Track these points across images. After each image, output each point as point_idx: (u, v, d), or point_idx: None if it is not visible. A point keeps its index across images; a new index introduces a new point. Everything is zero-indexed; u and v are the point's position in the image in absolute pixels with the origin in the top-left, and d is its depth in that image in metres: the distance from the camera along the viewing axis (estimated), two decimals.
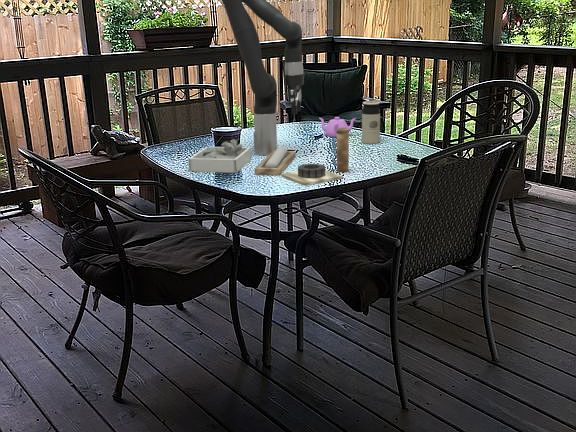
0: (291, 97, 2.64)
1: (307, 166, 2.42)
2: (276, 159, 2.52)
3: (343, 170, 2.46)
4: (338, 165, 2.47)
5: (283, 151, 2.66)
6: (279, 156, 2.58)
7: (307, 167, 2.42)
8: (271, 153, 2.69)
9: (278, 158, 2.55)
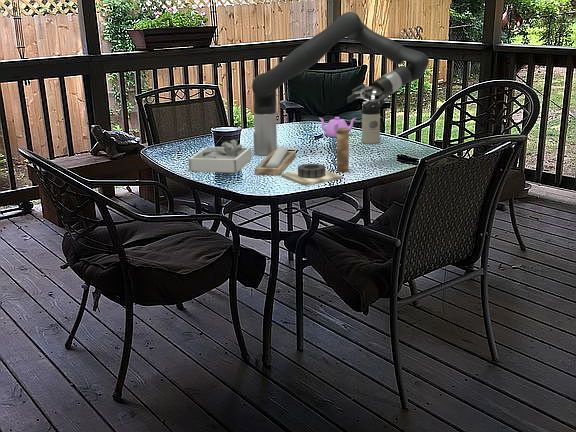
0: (382, 100, 2.44)
1: (307, 166, 2.42)
2: (277, 159, 2.52)
3: (343, 170, 2.46)
4: (338, 165, 2.47)
5: (283, 151, 2.66)
6: (279, 155, 2.58)
7: (307, 167, 2.42)
8: (271, 153, 2.69)
9: (279, 158, 2.55)
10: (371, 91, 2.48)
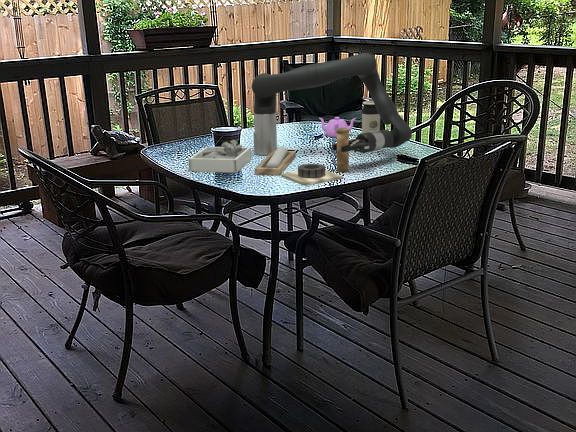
0: (362, 147, 2.44)
1: (307, 166, 2.42)
2: (277, 159, 2.53)
3: (343, 170, 2.46)
4: (338, 165, 2.47)
5: (283, 151, 2.66)
6: (279, 155, 2.58)
7: (307, 167, 2.42)
8: (271, 153, 2.69)
9: (279, 158, 2.55)
10: (355, 141, 2.50)
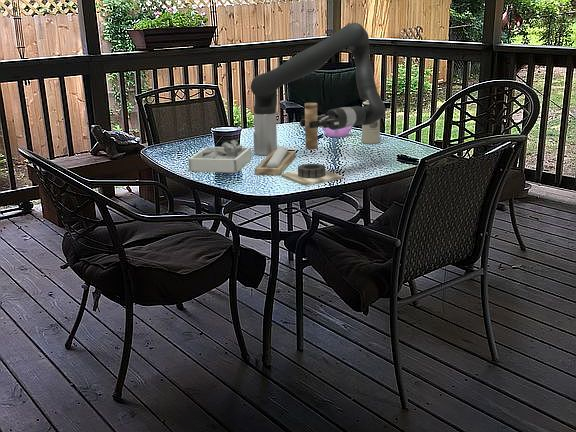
0: (331, 123, 2.32)
1: (307, 166, 2.42)
2: (277, 159, 2.53)
3: (312, 147, 2.35)
4: (306, 142, 2.35)
5: (284, 151, 2.66)
6: (280, 155, 2.58)
7: (307, 167, 2.42)
8: (271, 153, 2.69)
9: (279, 158, 2.55)
10: None
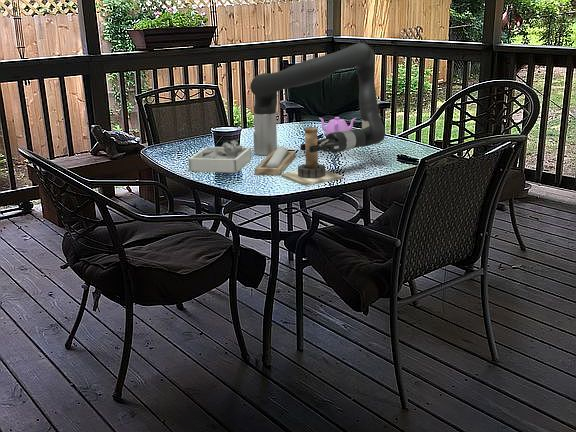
0: (331, 147, 2.35)
1: None
2: (277, 159, 2.53)
3: None
4: (307, 166, 2.38)
5: (283, 151, 2.66)
6: (279, 155, 2.58)
7: None
8: (271, 153, 2.69)
9: (279, 158, 2.55)
10: None
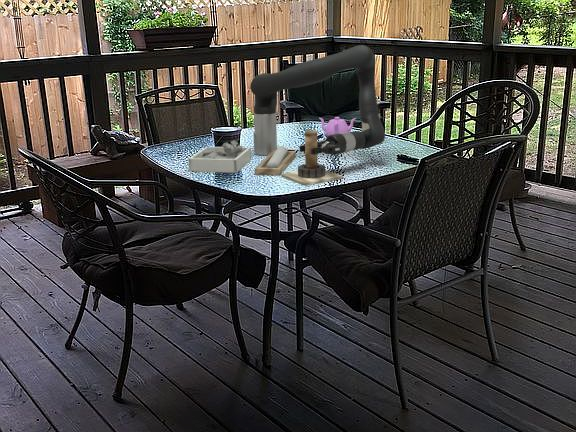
0: (333, 149, 2.35)
1: None
2: (277, 158, 2.53)
3: None
4: None
5: (284, 151, 2.66)
6: (280, 155, 2.58)
7: None
8: (271, 153, 2.69)
9: (279, 157, 2.55)
10: (324, 143, 2.41)
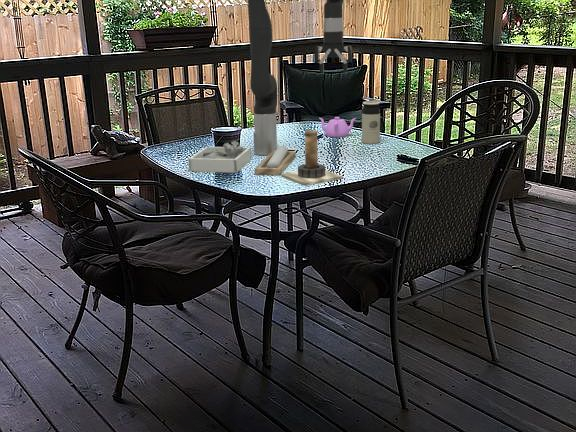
0: (351, 53, 2.53)
1: None
2: (277, 158, 2.53)
3: None
4: None
5: (284, 150, 2.67)
6: (280, 155, 2.58)
7: None
8: (271, 153, 2.69)
9: (279, 157, 2.56)
10: (332, 51, 2.53)
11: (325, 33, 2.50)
